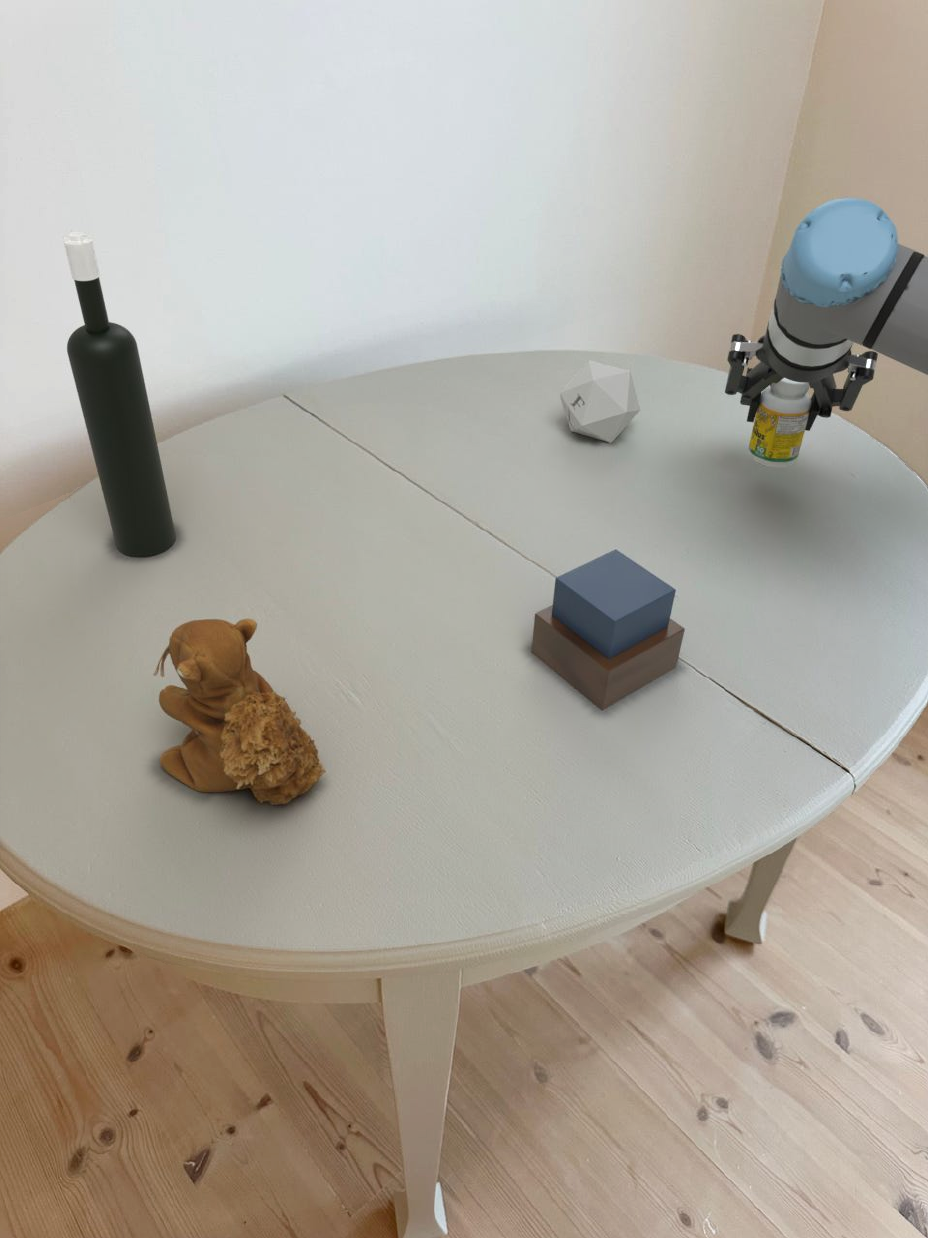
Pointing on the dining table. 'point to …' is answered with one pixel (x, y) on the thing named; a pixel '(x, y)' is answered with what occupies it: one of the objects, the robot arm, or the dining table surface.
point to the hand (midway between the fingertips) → (780, 414)
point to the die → (600, 401)
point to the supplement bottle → (780, 423)
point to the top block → (612, 603)
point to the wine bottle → (117, 415)
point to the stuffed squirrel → (232, 718)
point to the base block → (604, 659)
